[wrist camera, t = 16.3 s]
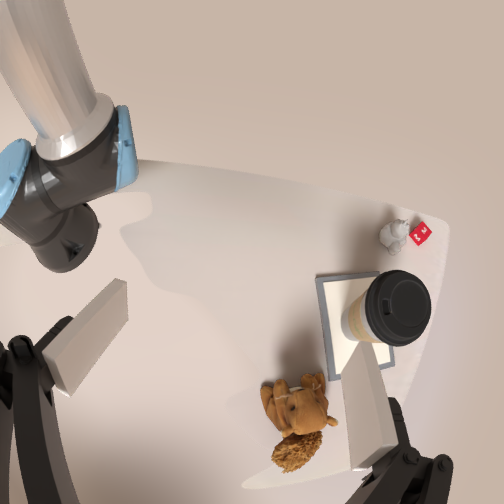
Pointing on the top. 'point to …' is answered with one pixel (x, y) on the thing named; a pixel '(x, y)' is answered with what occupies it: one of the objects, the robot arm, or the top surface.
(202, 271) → the top surface
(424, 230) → the dice
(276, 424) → the stuffed squirrel
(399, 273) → the coffee cup
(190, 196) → the top surface
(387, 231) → the light grey lumpy piece
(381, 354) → the picture frame
